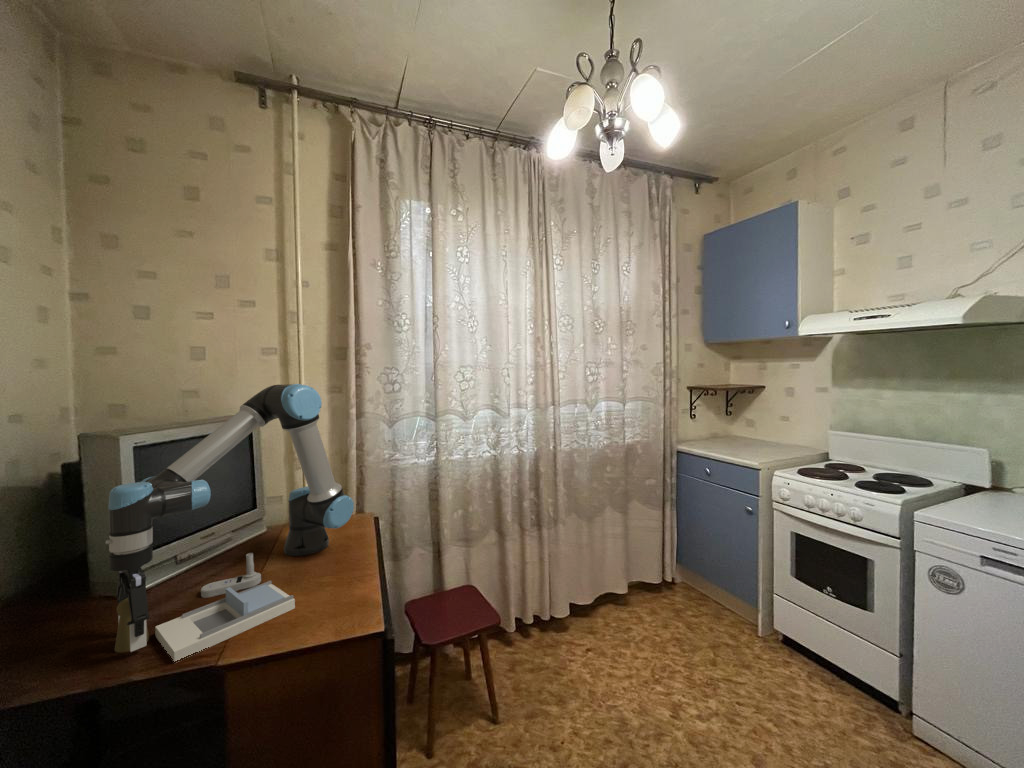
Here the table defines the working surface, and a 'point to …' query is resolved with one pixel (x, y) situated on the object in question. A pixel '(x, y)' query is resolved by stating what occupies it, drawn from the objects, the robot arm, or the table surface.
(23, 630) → the table surface
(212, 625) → the socket plate
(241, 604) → the panel
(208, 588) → the electronic device
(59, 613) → the table surface
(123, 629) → the cork
